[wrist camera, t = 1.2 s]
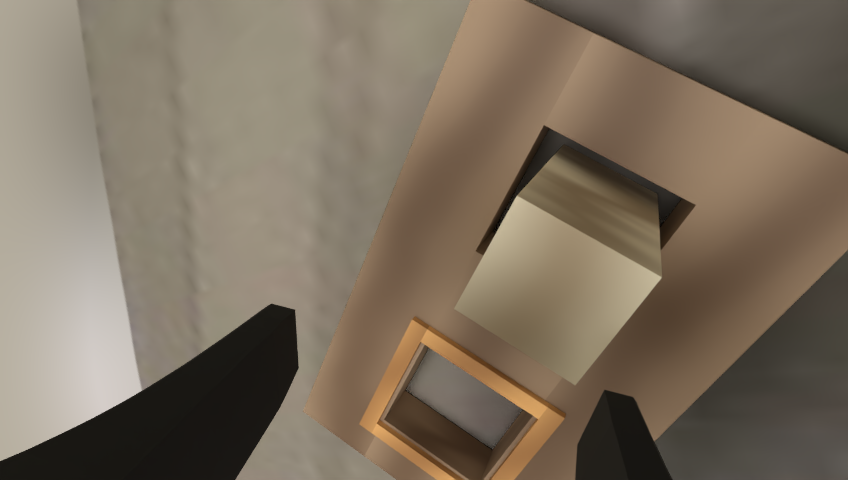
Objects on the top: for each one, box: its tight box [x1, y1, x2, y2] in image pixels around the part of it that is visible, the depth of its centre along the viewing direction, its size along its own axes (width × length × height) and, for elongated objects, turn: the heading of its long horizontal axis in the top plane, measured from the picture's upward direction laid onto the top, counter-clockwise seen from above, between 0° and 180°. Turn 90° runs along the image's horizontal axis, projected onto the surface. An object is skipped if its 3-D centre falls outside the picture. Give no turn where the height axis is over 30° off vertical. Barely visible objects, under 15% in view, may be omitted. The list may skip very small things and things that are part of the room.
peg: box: [454, 145, 662, 385], centre depth 17 cm, size 4×4×8 cm
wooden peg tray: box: [303, 0, 848, 480], centre depth 21 cm, size 14×23×3 cm, turn 156°
